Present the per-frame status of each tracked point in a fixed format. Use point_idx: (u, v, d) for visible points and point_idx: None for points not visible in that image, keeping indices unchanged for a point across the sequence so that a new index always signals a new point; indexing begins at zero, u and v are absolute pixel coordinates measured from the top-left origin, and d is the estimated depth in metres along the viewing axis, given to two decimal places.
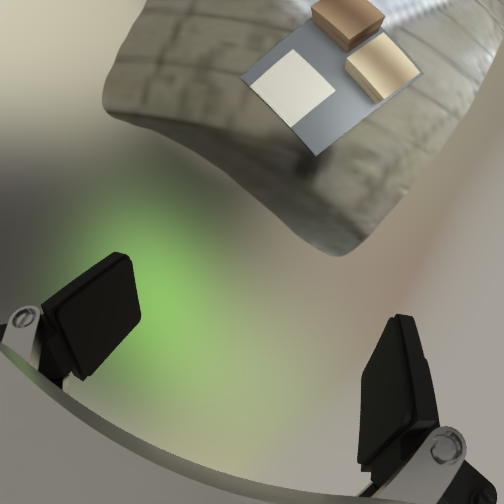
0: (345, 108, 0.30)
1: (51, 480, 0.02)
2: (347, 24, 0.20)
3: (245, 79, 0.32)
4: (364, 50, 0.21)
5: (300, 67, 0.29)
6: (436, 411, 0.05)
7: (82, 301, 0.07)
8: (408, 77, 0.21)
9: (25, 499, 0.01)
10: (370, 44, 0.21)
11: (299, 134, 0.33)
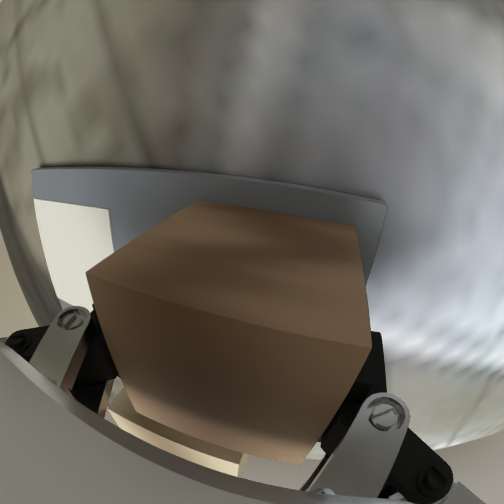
0: None
1: (51, 480, 0.02)
2: (159, 404, 0.07)
3: (34, 180, 0.13)
4: (154, 436, 0.09)
5: (99, 252, 0.13)
6: (384, 381, 0.06)
7: None
8: None
9: (25, 499, 0.01)
10: (178, 445, 0.09)
11: None
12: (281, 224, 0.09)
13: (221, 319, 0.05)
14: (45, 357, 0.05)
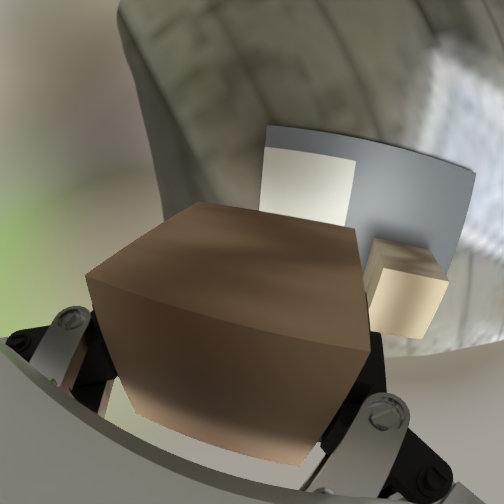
0: None
1: (51, 480, 0.02)
2: (159, 406, 0.07)
3: (269, 133, 0.22)
4: (409, 278, 0.18)
5: (337, 187, 0.23)
6: (384, 381, 0.06)
7: None
8: (406, 333, 0.20)
9: (25, 499, 0.01)
10: (422, 279, 0.18)
11: None
12: (281, 226, 0.09)
13: (220, 323, 0.05)
14: (45, 357, 0.05)
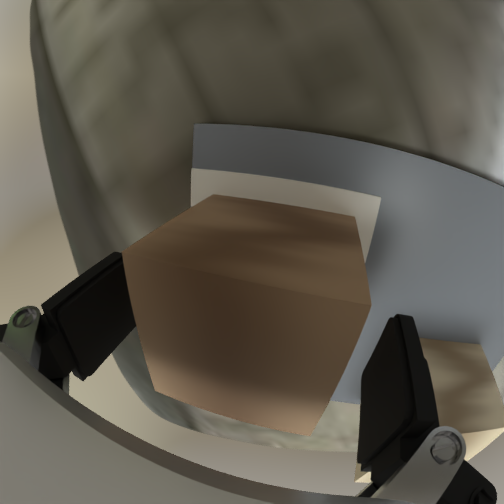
0: None
1: (51, 480, 0.02)
2: (180, 379, 0.08)
3: (199, 141, 0.11)
4: None
5: None
6: (436, 411, 0.05)
7: (82, 301, 0.07)
8: None
9: (25, 499, 0.01)
10: (472, 435, 0.06)
11: None
12: (290, 214, 0.10)
13: (247, 284, 0.06)
14: None
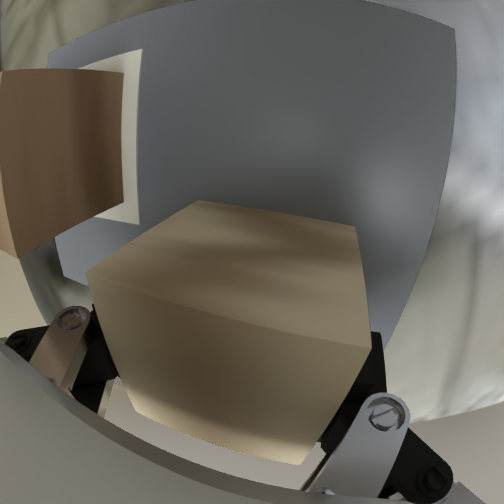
0: None
1: (51, 480, 0.02)
2: None
3: (49, 63, 0.09)
4: (172, 319, 0.05)
5: None
6: (384, 381, 0.06)
7: None
8: (250, 450, 0.07)
9: (25, 499, 0.01)
10: (228, 329, 0.05)
11: None
12: None
13: None
14: (45, 357, 0.05)
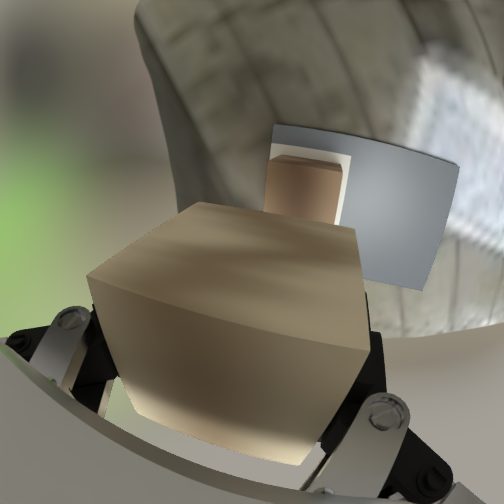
0: None
1: (51, 480, 0.02)
2: None
3: (275, 131, 0.25)
4: (172, 322, 0.05)
5: None
6: (384, 381, 0.06)
7: None
8: (249, 451, 0.07)
9: (25, 499, 0.01)
10: (228, 332, 0.05)
11: None
12: (315, 160, 0.24)
13: (309, 167, 0.20)
14: (45, 357, 0.05)
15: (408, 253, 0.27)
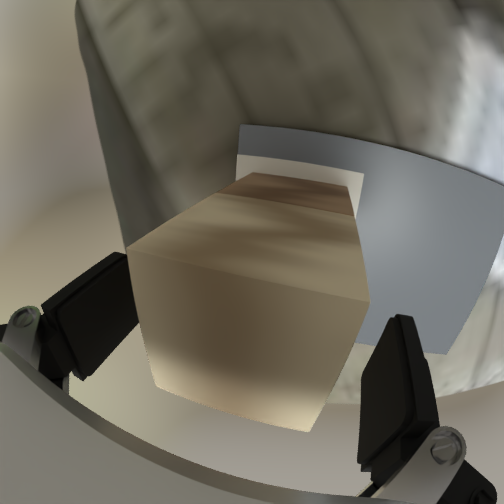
0: None
1: (51, 480, 0.02)
2: None
3: (243, 136, 0.16)
4: (206, 284, 0.06)
5: None
6: (436, 411, 0.05)
7: (82, 301, 0.07)
8: (263, 417, 0.08)
9: (25, 499, 0.01)
10: (255, 289, 0.06)
11: None
12: (305, 183, 0.15)
13: None
14: None
15: (436, 313, 0.17)
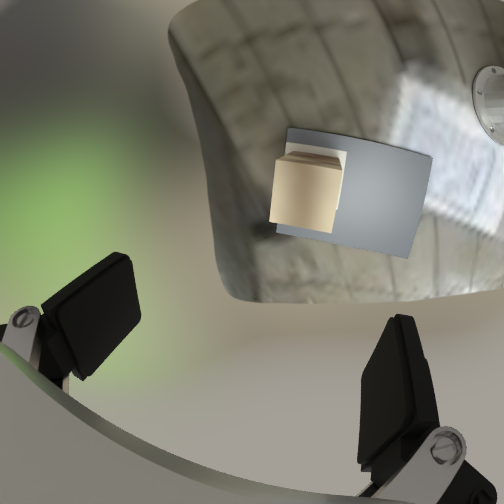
0: None
1: (51, 480, 0.02)
2: None
3: (289, 133, 0.33)
4: (301, 168, 0.23)
5: None
6: (436, 411, 0.05)
7: (82, 301, 0.07)
8: (314, 226, 0.25)
9: (25, 499, 0.01)
10: (314, 168, 0.23)
11: None
12: (319, 155, 0.32)
13: None
14: None
15: (394, 227, 0.34)
